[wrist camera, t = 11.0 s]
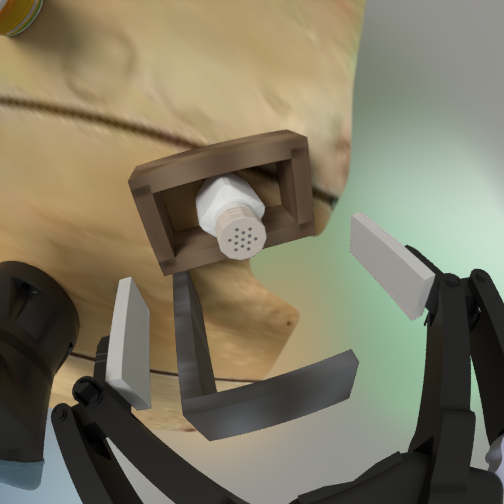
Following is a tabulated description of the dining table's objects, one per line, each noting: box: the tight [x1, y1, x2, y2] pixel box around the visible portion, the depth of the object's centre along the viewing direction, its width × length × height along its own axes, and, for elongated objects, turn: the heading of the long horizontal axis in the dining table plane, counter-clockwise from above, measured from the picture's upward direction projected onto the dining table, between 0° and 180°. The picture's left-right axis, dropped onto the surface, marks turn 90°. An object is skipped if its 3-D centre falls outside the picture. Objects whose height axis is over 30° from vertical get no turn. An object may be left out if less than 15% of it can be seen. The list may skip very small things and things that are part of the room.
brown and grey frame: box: [128, 130, 359, 441], centre depth 21 cm, size 14×18×17 cm
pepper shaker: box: [195, 172, 267, 260], centre depth 22 cm, size 4×4×10 cm
